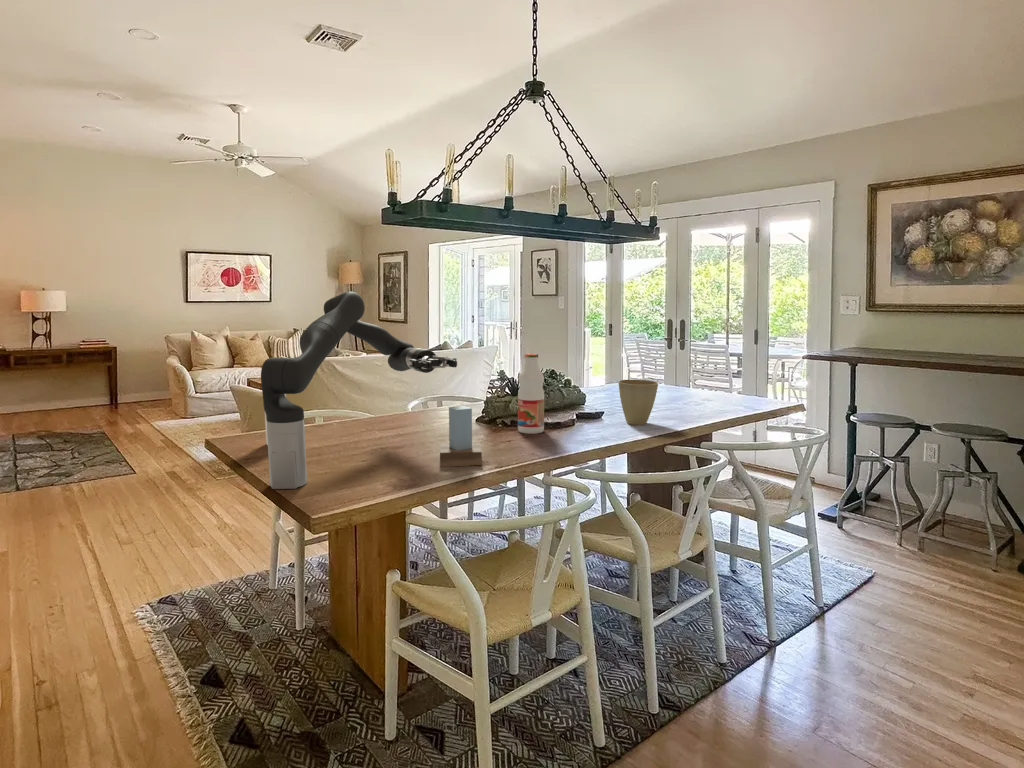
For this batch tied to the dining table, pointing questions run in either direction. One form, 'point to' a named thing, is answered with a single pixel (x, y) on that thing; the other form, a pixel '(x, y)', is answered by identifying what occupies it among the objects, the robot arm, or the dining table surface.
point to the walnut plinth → (460, 455)
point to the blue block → (460, 427)
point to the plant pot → (637, 399)
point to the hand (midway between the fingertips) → (443, 364)
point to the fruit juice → (531, 397)
